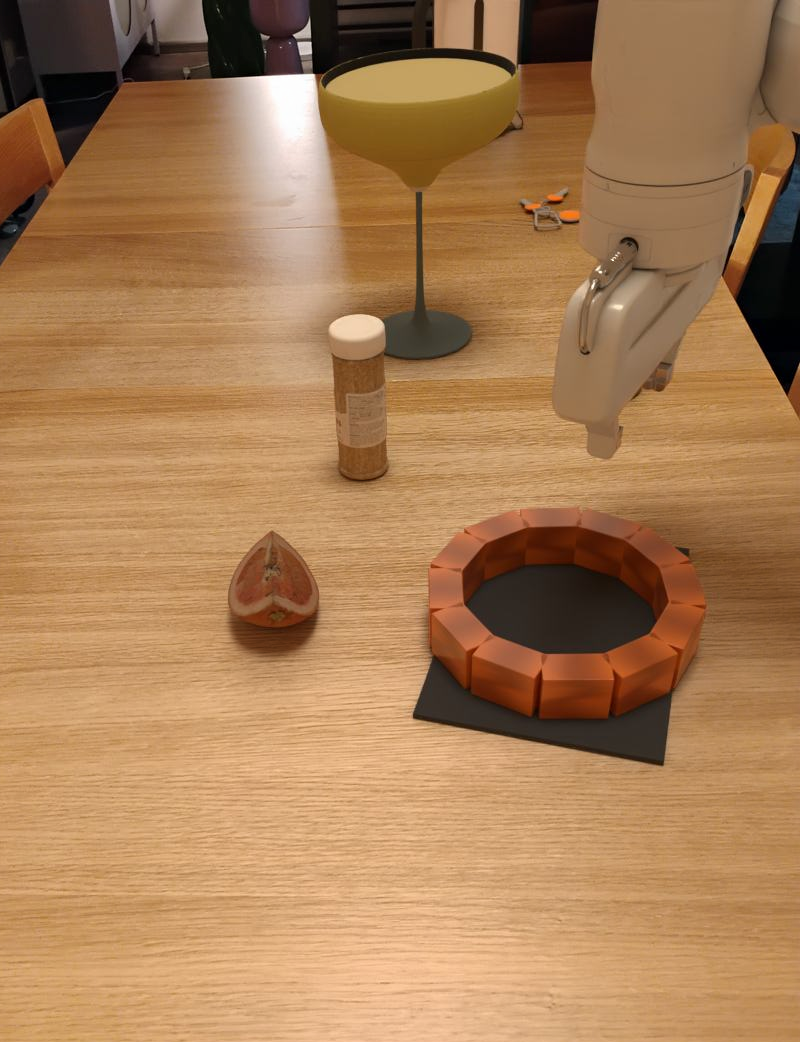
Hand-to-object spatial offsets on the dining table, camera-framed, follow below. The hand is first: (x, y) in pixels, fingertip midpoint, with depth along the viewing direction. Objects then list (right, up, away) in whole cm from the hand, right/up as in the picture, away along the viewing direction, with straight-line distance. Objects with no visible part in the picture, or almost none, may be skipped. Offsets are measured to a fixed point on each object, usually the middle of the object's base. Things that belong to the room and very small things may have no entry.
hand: (630, 417), depth 69 cm
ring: (-4, -14, +4) cm, 15 cm away
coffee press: (+2, +62, +87) cm, 106 cm away
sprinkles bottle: (-17, 0, +21) cm, 27 cm away
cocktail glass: (-10, +17, +39) cm, 44 cm away
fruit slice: (-24, -13, +7) cm, 29 cm away
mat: (-4, -14, +4) cm, 15 cm away
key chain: (+8, +39, +61) cm, 74 cm away
